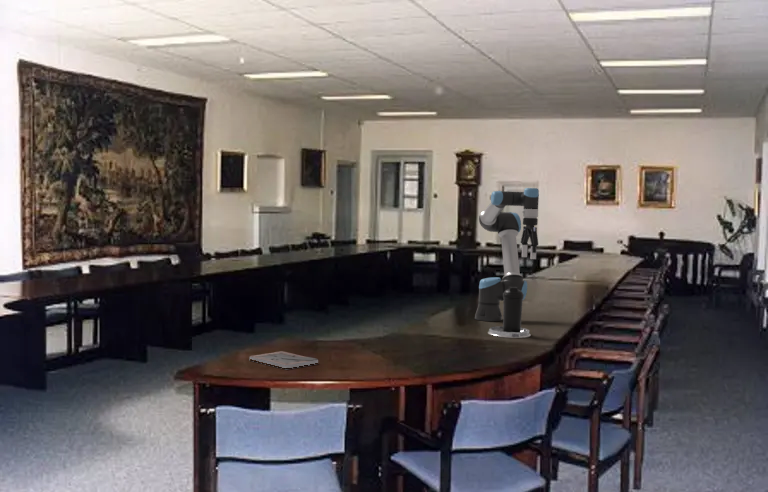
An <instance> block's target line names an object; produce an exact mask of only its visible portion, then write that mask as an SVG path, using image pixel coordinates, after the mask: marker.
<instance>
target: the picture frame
mask: <svg viewBox="0 0 768 492" xmlns="http://www.w3.org/2000/svg"><path fill="white" fill-rule="evenodd" d="M250 359H252V360H256V361H259V362H263V363H267V364H271V365H275V366H279V367H282V368H292V369H294V368H293V367H297V368H300V367H299V366H303V367H305V366H304V365H308V366H311V365H310V364H314V365H316V364H315V363H318V364H319V359H318V358H315V357H312V356H305V355H304V356H303V355H299V354H295V353H291V352H287V351H282V350H281V351H275V352H269V353H262V354H256V355H255V354H253V355H250V356H249V360H250ZM282 368H281V369H282Z"/></svg>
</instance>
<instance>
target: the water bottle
mask: <svg viewBox="0 0 768 492" xmlns="http://www.w3.org/2000/svg"><path fill="white" fill-rule="evenodd" d="M523 298H524V294H523V293H522V291H520V290H518V287H510V289H507V290H505V291H504V293H503V301H502V302H503V309H502V310H503V311H502V312H503V313H502V314H503V315H502V323H503V324H502V326H503V332H520V331H521V328H522V316H523V315H522V314H523V302H524V300H523Z"/></svg>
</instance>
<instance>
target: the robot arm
mask: <svg viewBox="0 0 768 492" xmlns="http://www.w3.org/2000/svg"><path fill="white" fill-rule="evenodd" d="M539 195H540V190H539V188H537V187H536V188H535V187H525V188H524V189H523V191H503V190H502V191H501V190H496V191H495V190H493V191H492V192H491V195H490V203H489V205H488V206H487V207H486V209H484V210H482V211H481V212H480V214H479V215H478V221H479V224H480V226H481V227H482V229H484V230H486V231H488V232H491V233H492V232H493V233H498V234H497V235H498V237H499V238H500V239H501V241H500V242H501V251H502V261H503V272H504V273H503V274H504V275H503V277H502V279H501V277H494V276H493V277H486V278H482V279H480V281H479V285H478V305H477V309H476V312H475V314H474V319H475V320H477V321H483V322H501V321H503V315H502V314H503V313H502V309H501V308H500V306H501V305H500V304H501V303H500V302H503V293H504V291H505V290H507V289H510V287H518V290H520V291H522V293H523V294H524V298H523V301H524V300H525V299H526V296H527V292H528V282H527V280H525V279H524V276H523V275H521V273H520V264H519V263H520V261H519V253H518V241H517V236H519V233H520V232H521V230H522V235H521V238H520V243H521V258H528V245H529V243H528V242H529V240H530V260H537V247H538V246H539V238H538V227H537V226H538V221H539V219H538V218H539V199H540V198H539ZM506 206H507V207H509V206H510V207H511V206H513V207H517V206H518V207H523V211H522V214H523V218H522V220H521V217H520V215H519V214H518V213H517V212H511V211H509V212H507V211H506V212H505V211H504V212H503V210H504V209H505V207H506ZM522 225H523V229H522Z"/></svg>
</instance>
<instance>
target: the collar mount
mask: <svg viewBox="0 0 768 492" xmlns="http://www.w3.org/2000/svg"><path fill="white" fill-rule="evenodd" d="M487 334H488V335H490V336H492V335H493V336H492V337H497V336H498V337H499V338H506V339H507V338H509V339H524V338H525V339H526V338H530V337H531V333H530V329H528V328H525V327H521V331H520V332H503V325H502V326H501V325H500V326H499V325H498V326H491V327H490V328H489V329H488V331H487Z"/></svg>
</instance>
